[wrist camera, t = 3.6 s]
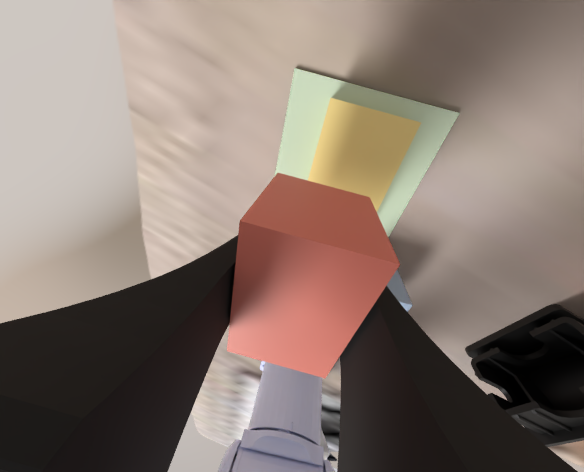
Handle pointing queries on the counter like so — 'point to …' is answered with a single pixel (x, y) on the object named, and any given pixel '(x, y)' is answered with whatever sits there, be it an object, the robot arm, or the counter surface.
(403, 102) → the baseplate
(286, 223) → the red brick
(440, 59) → the counter surface
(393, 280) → the blue brick
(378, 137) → the mustard brick
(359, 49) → the counter surface
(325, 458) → the figurine
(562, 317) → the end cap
